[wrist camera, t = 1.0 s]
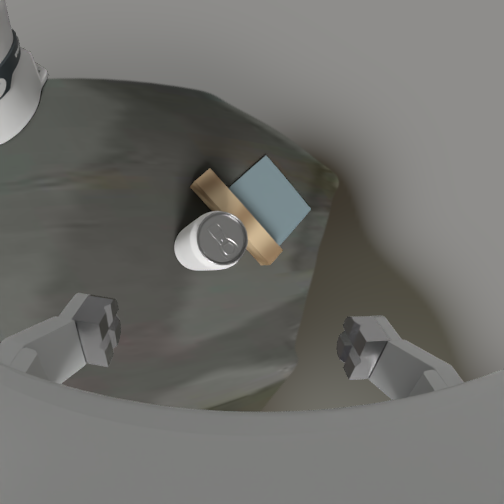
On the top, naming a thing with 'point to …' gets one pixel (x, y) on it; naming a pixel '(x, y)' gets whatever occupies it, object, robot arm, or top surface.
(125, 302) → the top surface
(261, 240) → the oak rail
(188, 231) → the can
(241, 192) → the felt mat
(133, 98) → the top surface
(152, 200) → the top surface
